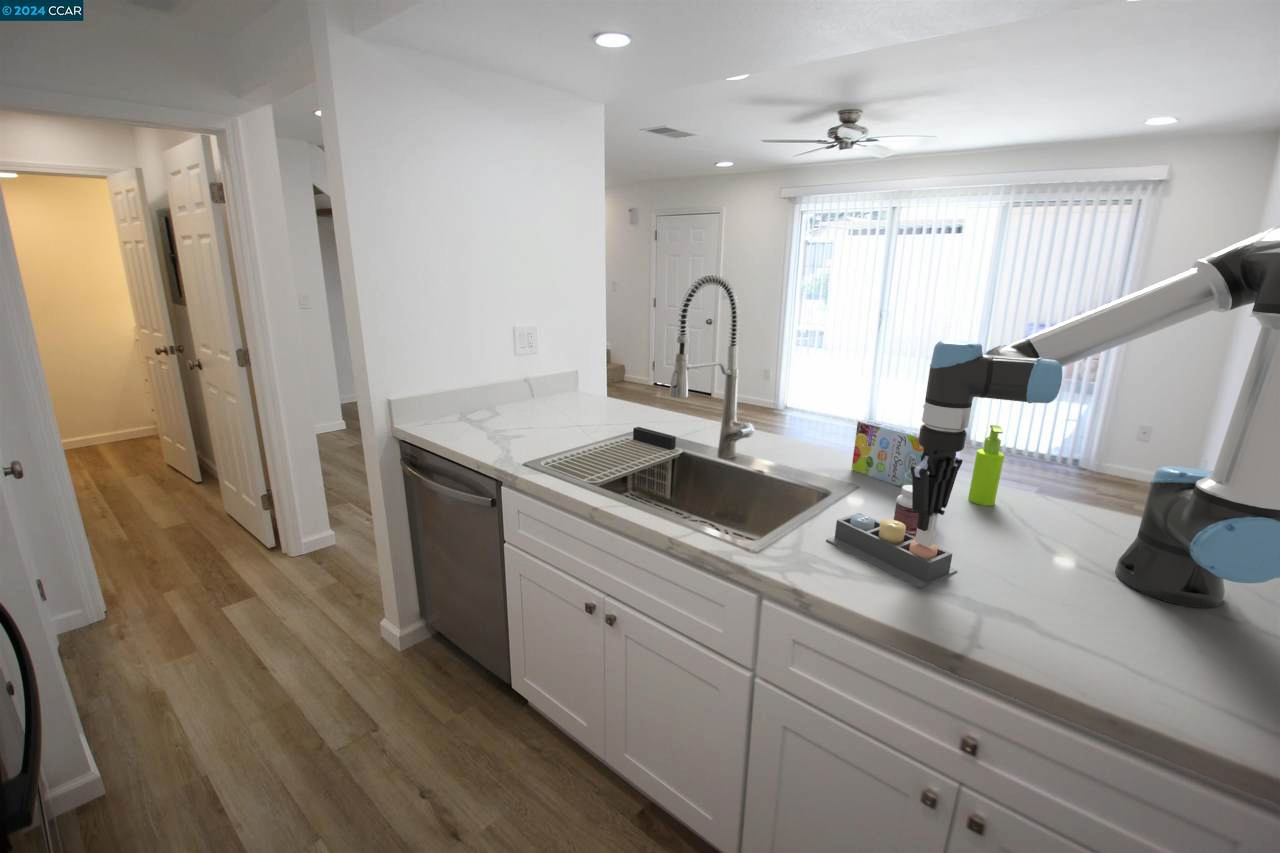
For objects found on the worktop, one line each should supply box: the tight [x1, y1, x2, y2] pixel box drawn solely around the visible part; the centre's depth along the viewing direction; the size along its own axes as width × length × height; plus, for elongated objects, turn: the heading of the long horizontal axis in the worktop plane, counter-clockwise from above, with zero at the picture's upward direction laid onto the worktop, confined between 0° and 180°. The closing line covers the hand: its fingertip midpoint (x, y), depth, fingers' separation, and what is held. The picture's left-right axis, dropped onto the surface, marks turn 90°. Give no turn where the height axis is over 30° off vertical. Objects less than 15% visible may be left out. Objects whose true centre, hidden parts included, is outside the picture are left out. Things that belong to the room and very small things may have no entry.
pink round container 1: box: [909, 540, 938, 560], centre depth 112 cm, size 5×5×5 cm
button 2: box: [878, 518, 906, 545], centre depth 117 cm, size 5×5×5 cm
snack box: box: [851, 419, 924, 488], centre depth 159 cm, size 21×6×15 cm, turn 34°
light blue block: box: [850, 514, 876, 531], centre depth 123 cm, size 5×5×5 cm
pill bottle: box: [893, 485, 919, 537], centre depth 126 cm, size 6×6×11 cm
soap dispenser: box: [967, 424, 1005, 507], centre depth 144 cm, size 6×7×20 cm
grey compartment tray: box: [825, 512, 958, 589], centre depth 118 cm, size 22×12×4 cm, turn 32°
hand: (923, 543), depth 111 cm, fingers closed
